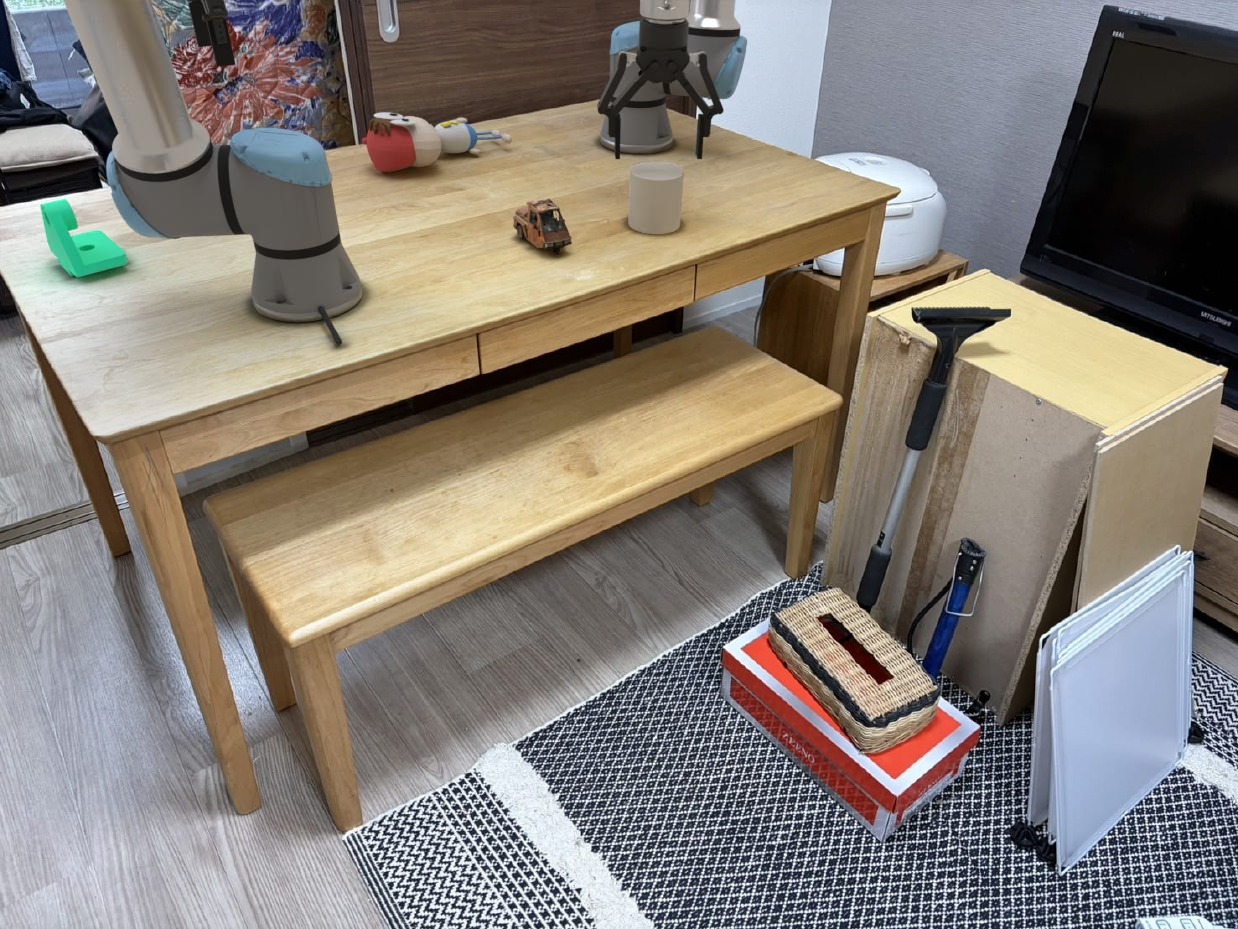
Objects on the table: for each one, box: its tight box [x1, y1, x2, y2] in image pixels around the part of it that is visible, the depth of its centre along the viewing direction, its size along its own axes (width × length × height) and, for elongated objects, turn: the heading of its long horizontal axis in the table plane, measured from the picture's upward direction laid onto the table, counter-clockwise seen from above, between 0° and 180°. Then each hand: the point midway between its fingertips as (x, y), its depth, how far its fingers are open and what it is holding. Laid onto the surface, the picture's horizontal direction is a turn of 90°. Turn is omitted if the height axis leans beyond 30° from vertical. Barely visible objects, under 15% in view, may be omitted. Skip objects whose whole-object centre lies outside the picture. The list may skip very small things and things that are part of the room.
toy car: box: [512, 198, 573, 256], centre depth 150 cm, size 6×12×7 cm, turn 39°
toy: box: [361, 111, 513, 173], centre depth 182 cm, size 18×10×30 cm
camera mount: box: [39, 198, 129, 278], centre depth 139 cm, size 12×8×10 cm, turn 42°
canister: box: [627, 161, 685, 235], centre depth 158 cm, size 9×9×9 cm
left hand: (216, 55), depth 147 cm, fingers open, 13 cm apart
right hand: (658, 156), depth 154 cm, fingers open, 13 cm apart
